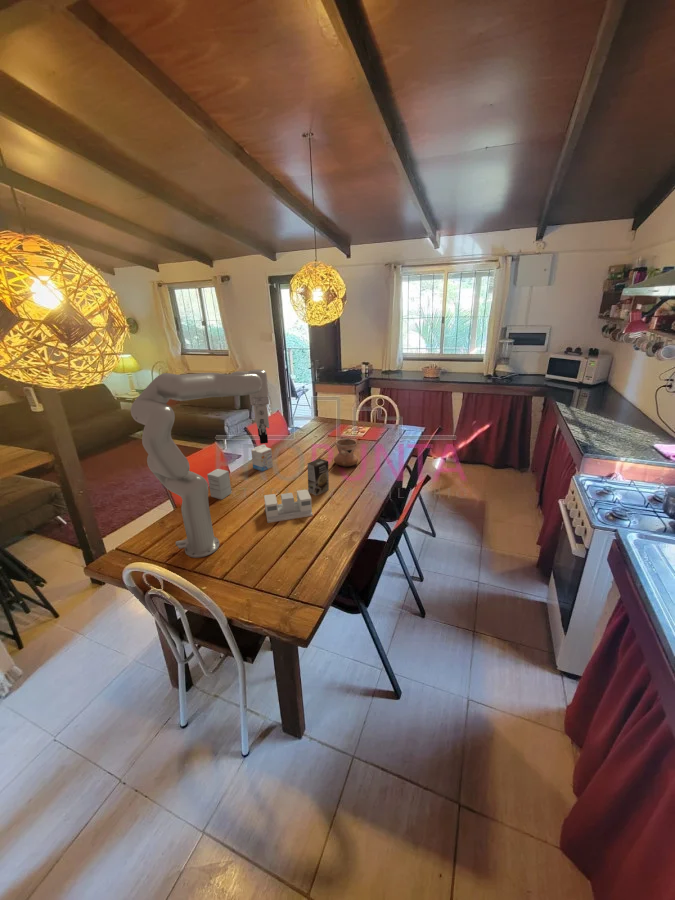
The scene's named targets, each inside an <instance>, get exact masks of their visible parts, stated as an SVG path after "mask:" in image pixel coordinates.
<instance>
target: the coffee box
mask: <svg viewBox="0 0 675 900" xmlns="http://www.w3.org/2000/svg"><path fill="white" fill-rule="evenodd" d="M329 483H330V482H329V460H326V459H322V458H317V459H315V460H312V461H310V462H307V490H308V492H309V494H312V495H314V496H318V495H319V496H320V495H321V494H323V493H326V492H328V491H329V490H330V489H329V488H330V487H329V485H330V484H329Z"/></svg>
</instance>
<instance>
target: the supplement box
mask: <svg viewBox="0 0 675 900" xmlns="http://www.w3.org/2000/svg"><path fill="white" fill-rule="evenodd" d="M206 474H207V483H208V488H209V492H210V497H212V498H215V499H218V500H224V499H225V498H227V497H228V496H230V495H231V494H232V486H231V479H230V472H229V470H226V469H221V468H217V469H214V470H213V471H210V472H209V473H206Z"/></svg>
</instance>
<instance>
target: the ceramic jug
mask: <svg viewBox="0 0 675 900" xmlns="http://www.w3.org/2000/svg"><path fill="white" fill-rule="evenodd" d="M335 444H336V450H337V451H338V453H337V454H336V455H334V457H333V461H334V463H335V464H336V465H338V466H340V467H353V466H355V465H357V463H358V462H359V458H358V456H357V455H356V454H354V452H355V450H356V448H357V444H358V442H357V441H356V440H355V439H351V438H341V439H338V440H336V441H335Z"/></svg>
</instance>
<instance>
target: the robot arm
mask: <svg viewBox="0 0 675 900" xmlns="http://www.w3.org/2000/svg"><path fill="white" fill-rule="evenodd" d="M248 395H249V402H250V405H251V406H253V413H254V419H255V425H256V427H257V434H258V437H259V443H260V444H261V445H263V444H268V443H269V441H268V440H269V438H268V433H267V429H269V428H270V423H269V421H270V420H269V413H268V412H269V411H268V405H269V404H270V402H269V400H270V397H269V387H268V375H267V372H266V370H264V369H250V370H249V371H248V370H247V371H244V370H243V371H233V372H231V373H230V374H226V373H219V372H201V373H187V374H183V373H182V374H177V373H168V372H163V373H160V374H159V375H157V377H155V378H154V379H153V380H152V381H151V382H150V383H149V384H148V385H147V386H146V387H145V388H144V390H143V391H142V392H141V393H139V395H138V396H137V397H136V398H135V400H134V401H133V403H132V405H131V407H130V415H131V417H132V418H133V420H134V421H135V422H137V423H138V424H140V425H144V427H143V431H142V437H141V442H142V446H143V448H144V451H145V452H146V453H147V454H148V455H147V459H146V462H147V463H146V464H147V467H148V468H149V470H150V472H151V473H152V474H153V475H154V476H155V477H156V479H158V480H159V482H160V483H161V485H163V486H164V488H166V489H167V490H168V491H170V492H171V493H173V494H175V495H178V496H179V497H180V498H181V500H182V503H181V508H180V509H181V515H182V521H183V525H184V530H185V535H186V538H185V539H182V540H176V541H175V546H176V547H178V549H179V550H181V549H184V553H185V555H187V557H190V558H194V559H195V558H196V559H197V558H204V557H207V556H209V555H213V554H214V553H215V552H216V551H217V550H218V549H219V548H220V540H219V538H218V537H217V536H215V535H214V528H213V522H212V516H211V509H210V504H209V482H208V480H206V478H205V477H203V476H202V475H200V474H198V473H196V472H194V471H190V462H189V460H188V458H187V457H186V456H185V454H183V452H182V451H181V449H180V448H179V447H178V445H177V444H176V443H175V441H174V440H173V438H172V430H173V427H174V423H175V419H176V418H175V417H176V415H175V412H174V410H173V408H172V407H171V406H170V405H169V404H167V403H168V402H169V401H170V400H173V401H178V402H179V401H180V402H181V401H182V402H184V401H191V400H199V399H207V398H225V397H238V396H248Z"/></svg>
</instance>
